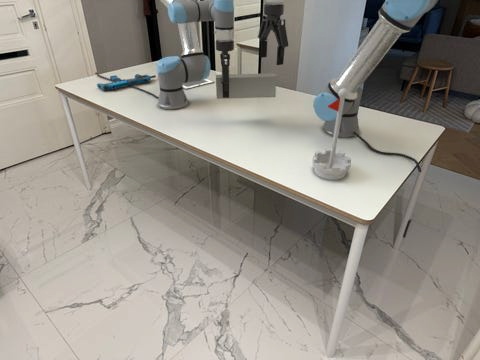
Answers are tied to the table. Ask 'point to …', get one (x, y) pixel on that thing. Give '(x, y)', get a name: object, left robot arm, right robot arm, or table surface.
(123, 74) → the table surface
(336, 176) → the flag stand
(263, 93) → the bar
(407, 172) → the table surface
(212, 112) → the table surface
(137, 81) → the submachine gun
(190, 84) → the tablet
